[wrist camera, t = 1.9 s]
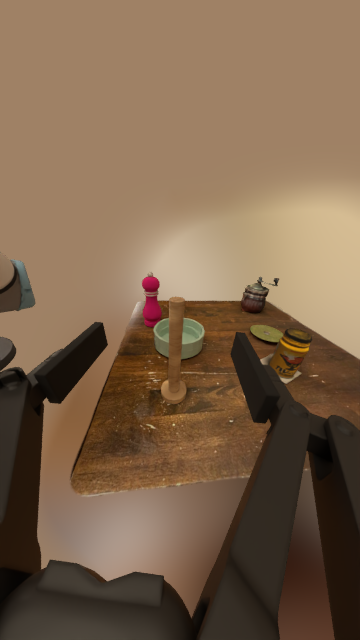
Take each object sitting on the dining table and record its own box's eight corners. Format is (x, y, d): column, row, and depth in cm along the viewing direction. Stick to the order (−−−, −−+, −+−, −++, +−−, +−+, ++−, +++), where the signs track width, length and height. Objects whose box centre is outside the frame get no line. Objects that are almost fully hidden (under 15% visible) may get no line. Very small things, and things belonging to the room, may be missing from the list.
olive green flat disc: (286, 337, 55) (289, 333, 54) (277, 351, 48) (279, 346, 47) (256, 326, 62) (257, 321, 61) (243, 335, 55) (245, 331, 54)
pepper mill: (148, 318, 64) (145, 269, 55) (164, 320, 63) (163, 271, 53) (140, 326, 58) (135, 273, 49) (157, 329, 57) (156, 275, 47)
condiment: (285, 384, 37) (307, 345, 31) (256, 362, 43) (269, 326, 38) (301, 374, 40) (323, 336, 34) (271, 354, 47) (286, 320, 41)
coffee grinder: (257, 320, 67) (271, 279, 58) (233, 307, 78) (242, 272, 70) (275, 315, 72) (290, 277, 64) (250, 304, 84) (260, 271, 75)
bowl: (144, 347, 47) (142, 330, 44) (173, 327, 58) (173, 313, 56) (185, 369, 40) (187, 351, 37) (209, 341, 51) (212, 326, 48)
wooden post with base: (155, 394, 33) (151, 300, 23) (171, 377, 37) (173, 291, 27) (176, 409, 30) (182, 309, 20) (190, 389, 34) (201, 298, 24)
